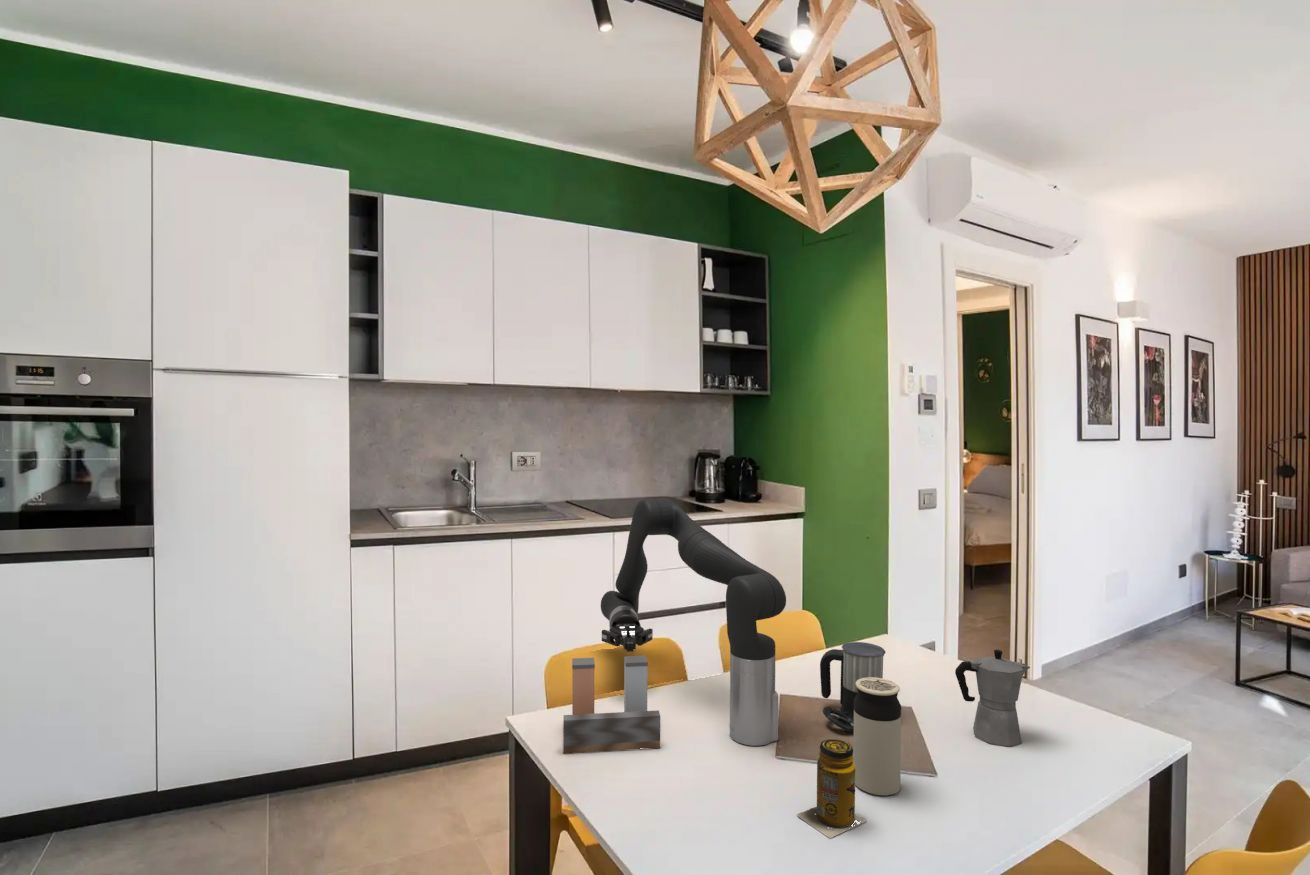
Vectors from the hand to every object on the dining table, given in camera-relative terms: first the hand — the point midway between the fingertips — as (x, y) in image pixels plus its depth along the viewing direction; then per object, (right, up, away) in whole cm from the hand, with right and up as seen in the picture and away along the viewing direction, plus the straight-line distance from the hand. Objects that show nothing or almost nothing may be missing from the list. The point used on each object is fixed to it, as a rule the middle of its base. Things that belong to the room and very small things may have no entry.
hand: (630, 647), depth 154 cm
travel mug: (+45, -14, -34) cm, 58 cm away
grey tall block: (+2, -12, -11) cm, 16 cm away
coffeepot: (+75, -14, -15) cm, 78 cm away
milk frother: (+49, -14, -7) cm, 51 cm away
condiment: (+34, -14, -44) cm, 58 cm away
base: (-4, -13, -15) cm, 20 cm away
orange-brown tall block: (-9, -12, -13) cm, 20 cm away
